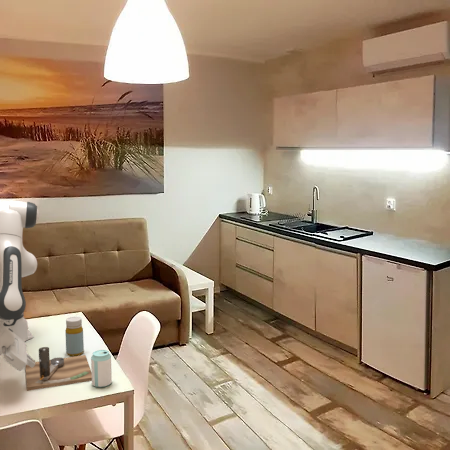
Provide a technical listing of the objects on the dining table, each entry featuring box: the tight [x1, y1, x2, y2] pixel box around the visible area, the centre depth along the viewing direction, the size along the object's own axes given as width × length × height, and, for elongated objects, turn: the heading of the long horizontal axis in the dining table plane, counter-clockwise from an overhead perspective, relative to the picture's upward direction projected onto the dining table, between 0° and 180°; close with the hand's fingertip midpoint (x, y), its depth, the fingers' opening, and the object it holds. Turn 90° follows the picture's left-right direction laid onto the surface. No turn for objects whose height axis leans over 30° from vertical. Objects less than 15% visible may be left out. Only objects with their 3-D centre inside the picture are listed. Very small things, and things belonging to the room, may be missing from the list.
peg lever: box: [38, 346, 64, 380], centre depth 194 cm, size 18×5×12 cm, turn 177°
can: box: [90, 349, 113, 388], centre depth 189 cm, size 7×7×12 cm
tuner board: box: [25, 354, 92, 392], centre depth 198 cm, size 22×23×1 cm
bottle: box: [65, 316, 85, 357], centre depth 215 cm, size 7×7×15 cm
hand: (33, 364), depth 187 cm, fingers closed
